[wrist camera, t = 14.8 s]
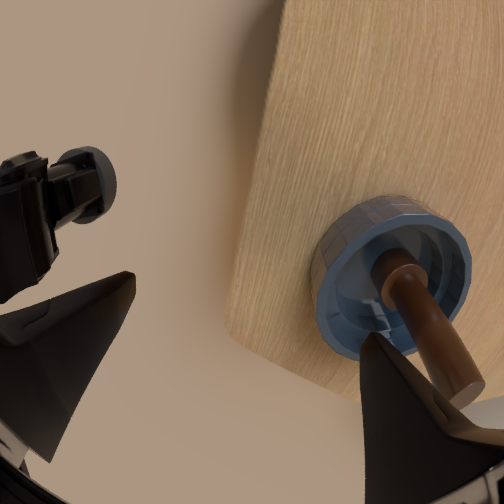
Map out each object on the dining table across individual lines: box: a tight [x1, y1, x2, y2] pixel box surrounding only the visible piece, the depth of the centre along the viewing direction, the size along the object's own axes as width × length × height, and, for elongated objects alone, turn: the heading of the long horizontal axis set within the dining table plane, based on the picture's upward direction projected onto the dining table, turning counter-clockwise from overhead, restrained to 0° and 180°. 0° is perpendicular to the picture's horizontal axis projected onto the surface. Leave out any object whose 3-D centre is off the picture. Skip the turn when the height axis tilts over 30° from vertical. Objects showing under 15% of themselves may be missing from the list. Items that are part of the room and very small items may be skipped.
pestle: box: [371, 248, 485, 410], centre depth 15 cm, size 4×4×14 cm
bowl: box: [311, 196, 472, 361], centre depth 20 cm, size 14×14×5 cm
